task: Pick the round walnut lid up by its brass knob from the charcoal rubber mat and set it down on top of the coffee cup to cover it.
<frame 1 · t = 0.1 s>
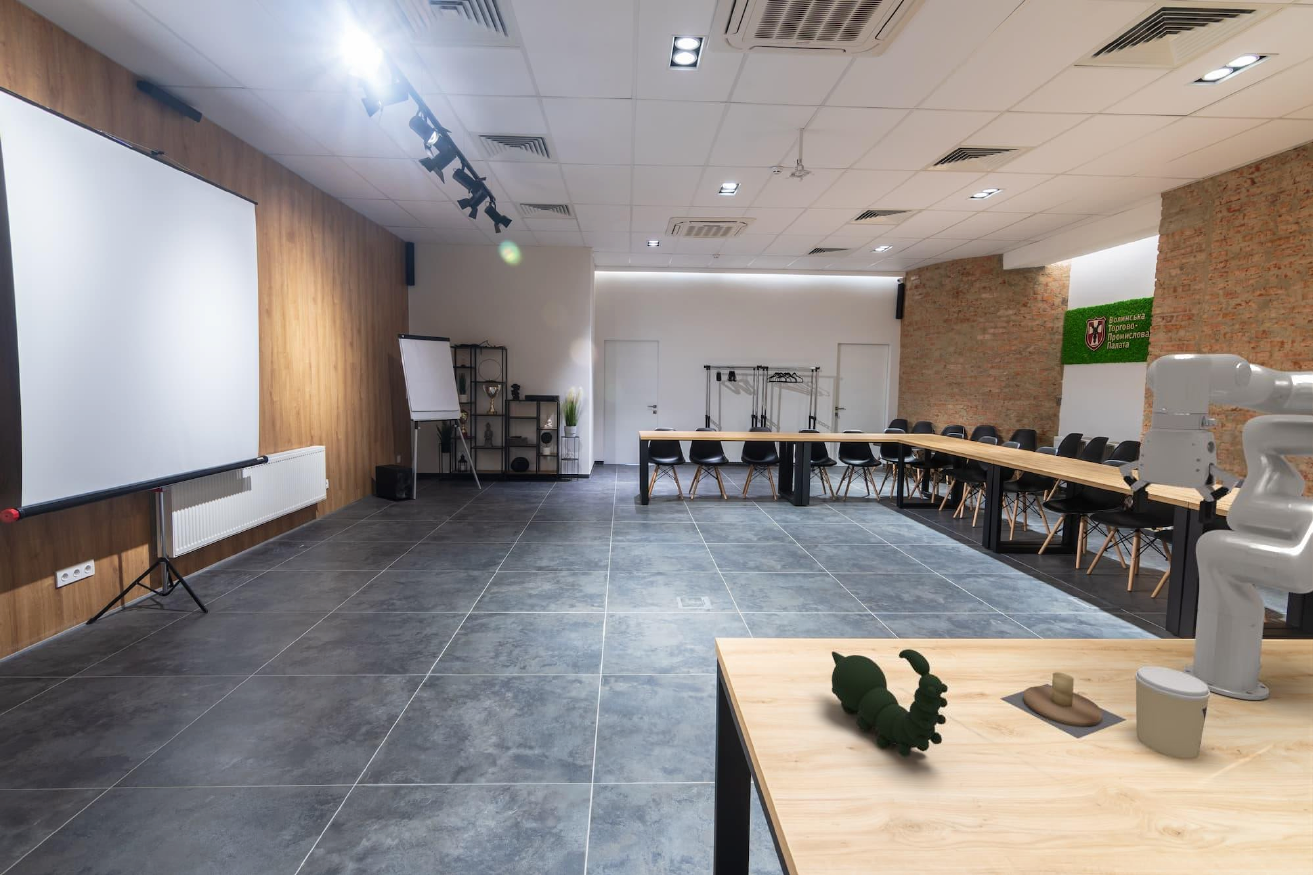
hand: (1171, 517, 106), 37 cm above the table, tool pointing down, fingers open, 9 cm apart
mat: (1061, 711, 108), on the table
lid: (1061, 708, 108), point 1 cm above the table, touching mat
toy figurine: (877, 732, 102), on the table
coffee cup: (1166, 748, 98), on the table
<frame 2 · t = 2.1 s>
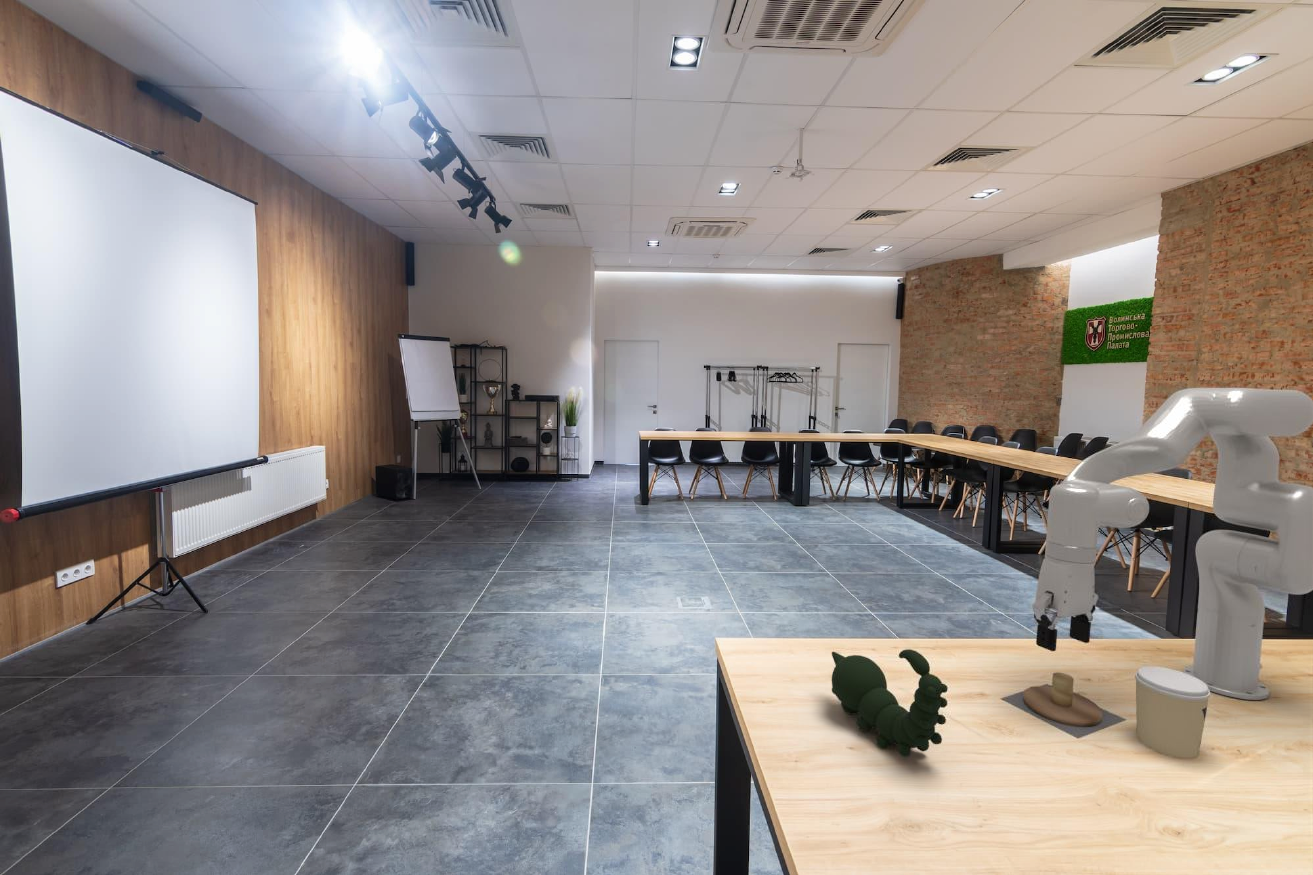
hand: (1062, 644, 107), 13 cm above the table, tool pointing down, fingers open, 9 cm apart
nothing on the table moved.
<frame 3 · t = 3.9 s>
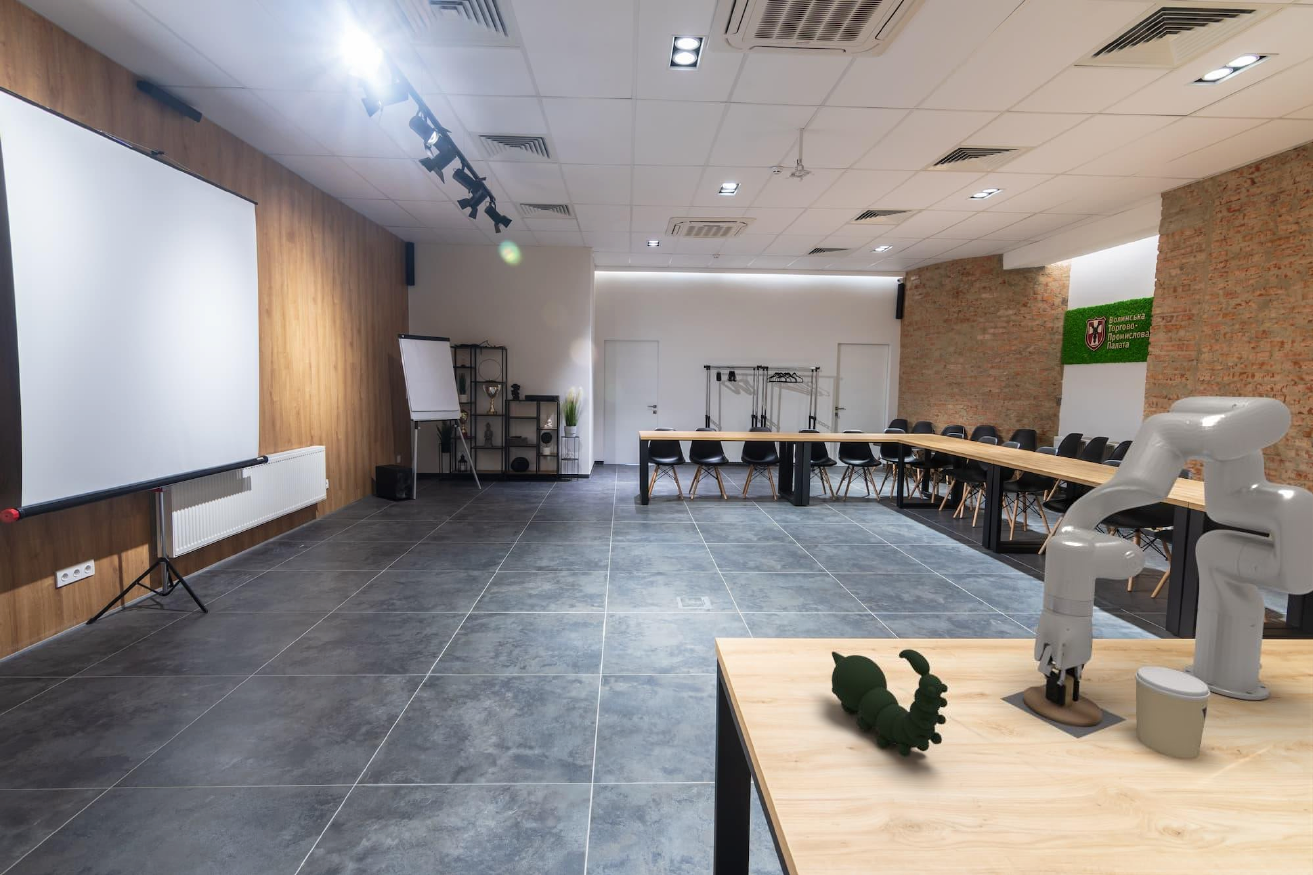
hand: (1061, 699, 108), 2 cm above the table, tool pointing down, fingers closed on lid, 3 cm apart
lid: (1061, 708, 108), point 1 cm above the table, touching gripper, mat
everything else where it was.
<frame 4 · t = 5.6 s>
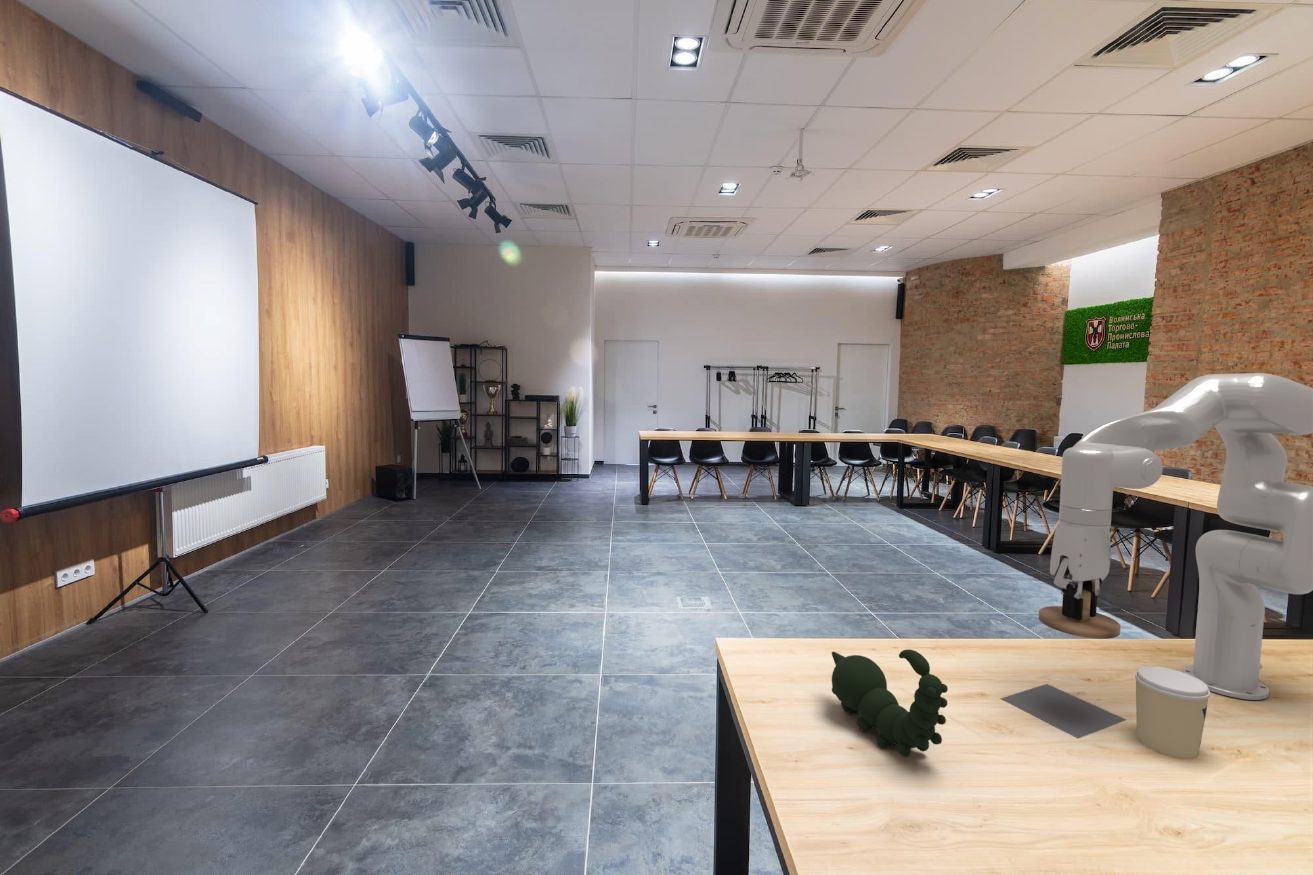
hand: (1078, 615, 106), 19 cm above the table, tool pointing down, fingers closed on lid, 3 cm apart
lid: (1077, 624, 106), point 17 cm above the table, touching gripper
everything else where it was.
when the fingers open (15 cm above the table, at t = 7.3 s): lid drops 1 cm, resting on coffee cup.
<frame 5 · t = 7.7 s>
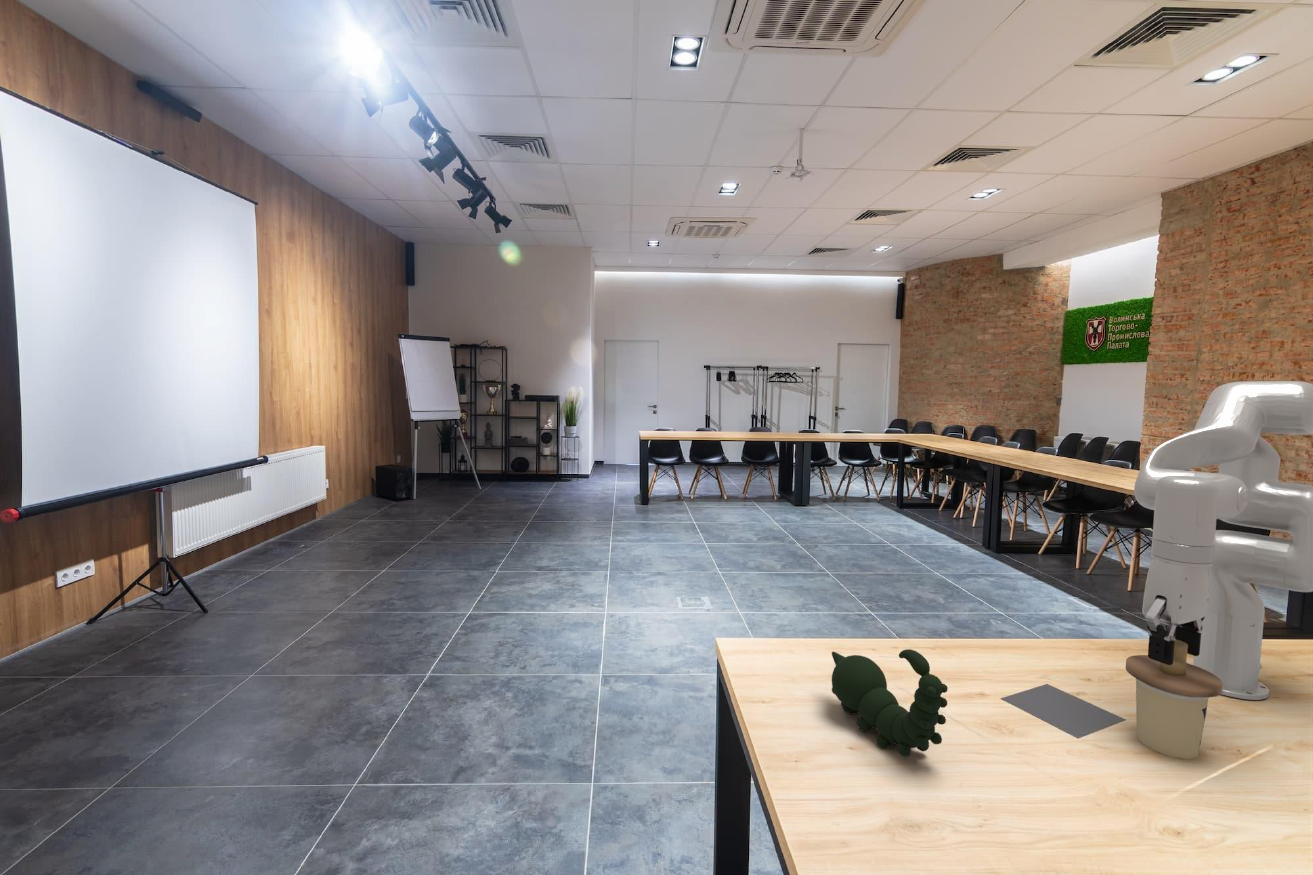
hand: (1173, 656, 96), 16 cm above the table, tool pointing down, fingers open, 7 cm apart
lid: (1171, 678, 97), point 12 cm above the table, touching coffee cup
coffee cup: (1166, 748, 98), on the table, touching lid
everything else where it was.
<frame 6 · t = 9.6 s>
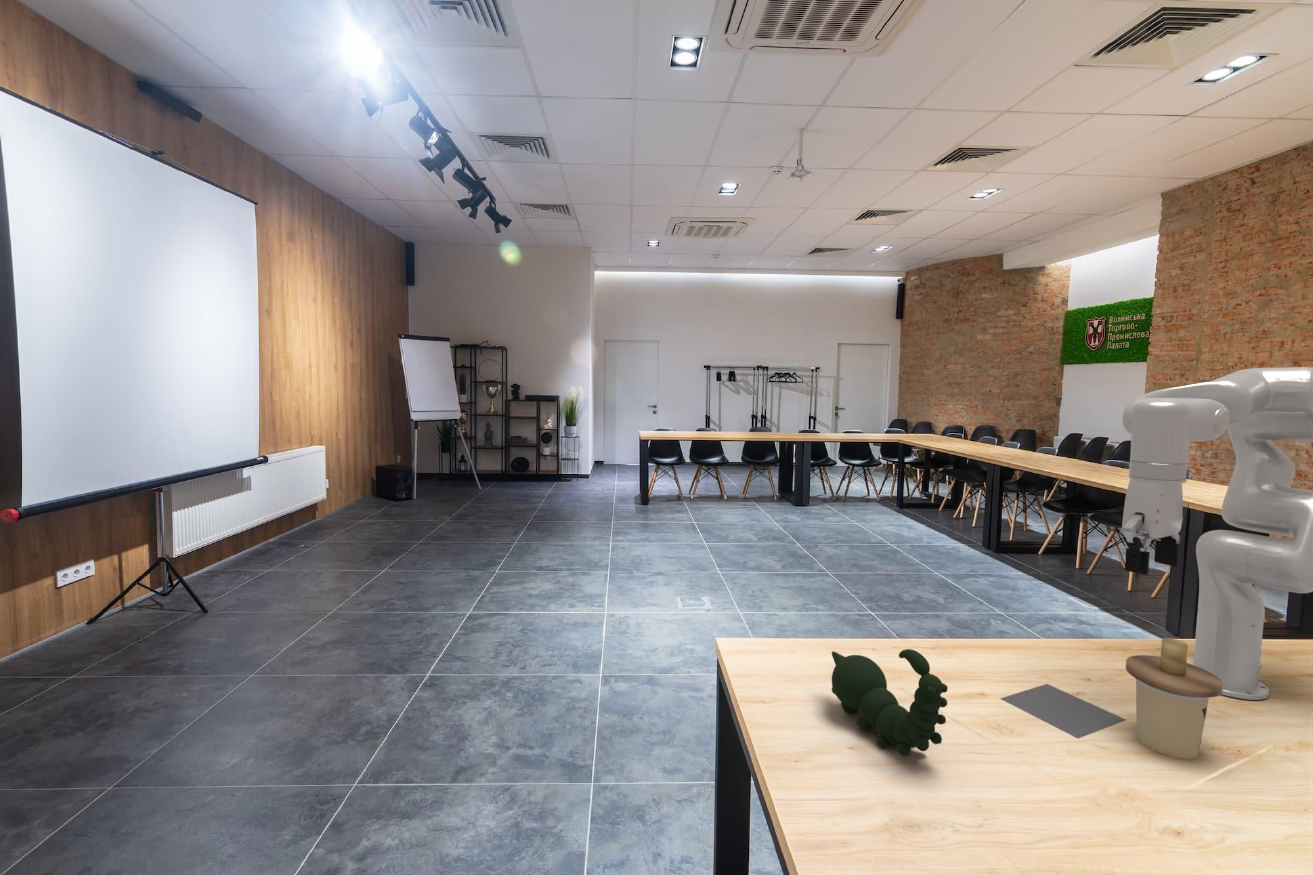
hand: (1151, 568, 102), 29 cm above the table, tool pointing down, fingers open, 9 cm apart
nothing on the table moved.
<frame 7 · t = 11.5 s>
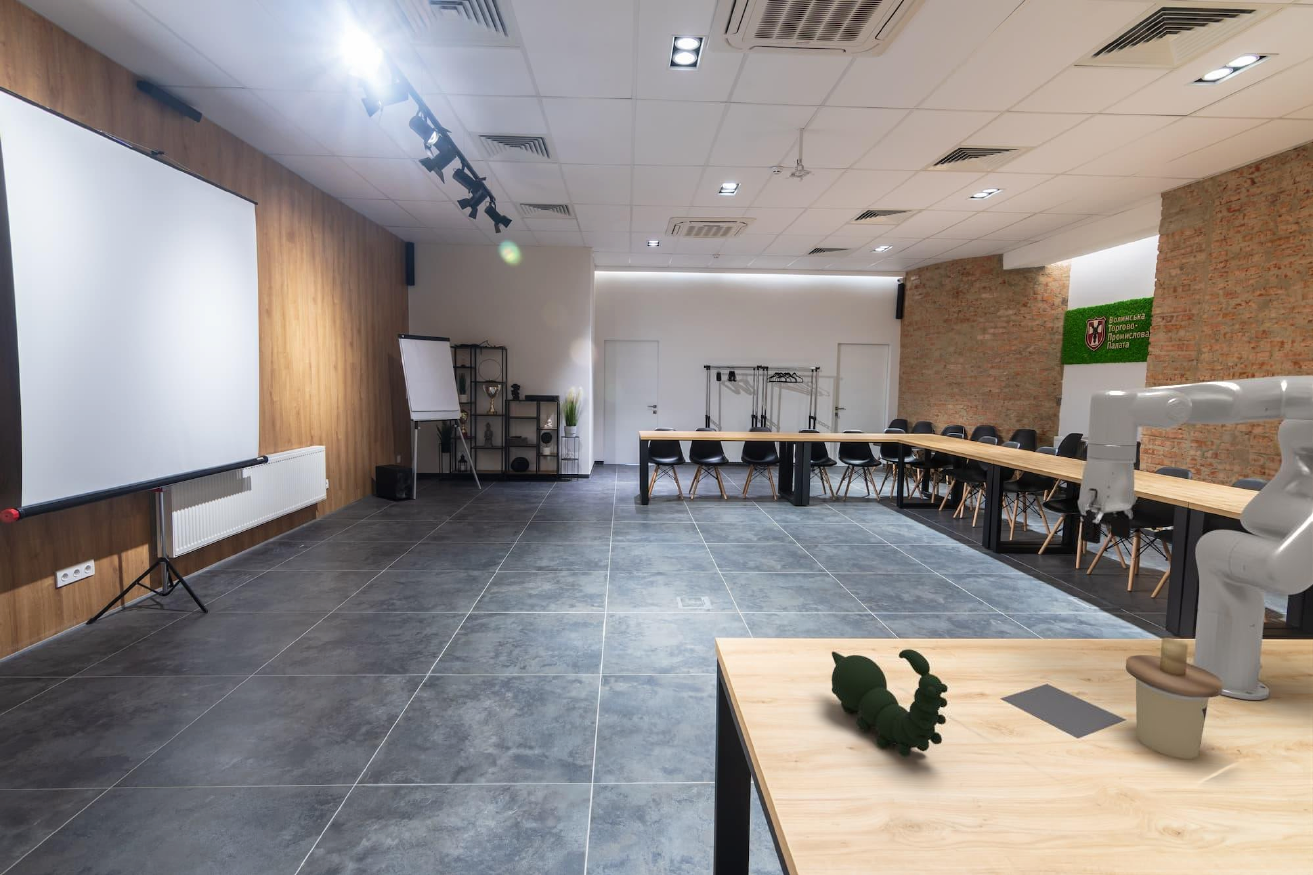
hand: (1105, 539, 115), 30 cm above the table, tool pointing down, fingers open, 9 cm apart
nothing on the table moved.
at the end: lid inside the target area on the coffee cup (0.0 cm from its centre), point 12.2 cm above the coffee cup's base; the gripper is holding nothing; coffee cup tilted 0° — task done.
